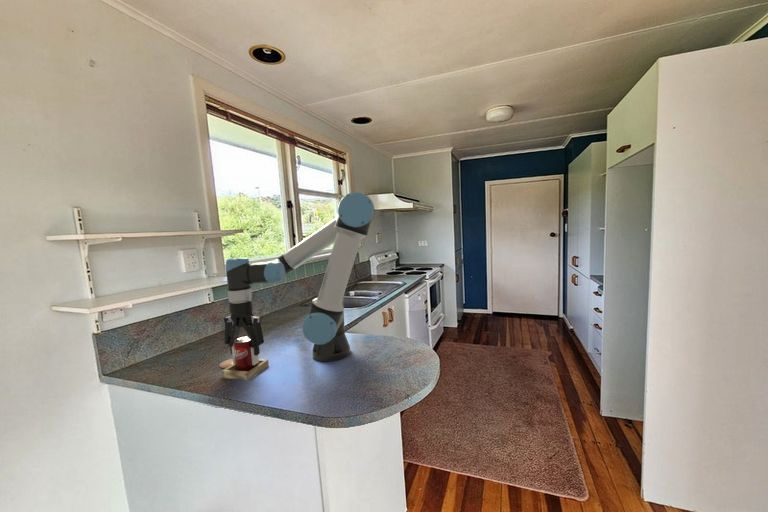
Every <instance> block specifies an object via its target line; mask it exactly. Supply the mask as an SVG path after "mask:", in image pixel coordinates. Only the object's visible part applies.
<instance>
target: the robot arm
mask: <svg viewBox="0 0 768 512" xmlns="http://www.w3.org/2000/svg"><path fill="white" fill-rule="evenodd" d="M337 207H338V208H337V213H336V215H335V218H334V219H332V220H330V221H329V222H327V223H326V224H325V225H323V226H322V227H320V228H319V229H318V230H316V231H314V232H313V233H312V234H311V235H309V236H307V237H306V238H304V239H303V240H301V241H300V242H299V243H297V244H295V245H294V246H292V247H291V248H289V250H287V251H286V252H284V253H283V254H281V255H279V256H278V257H277V258H275V259H273V260H269V261H264V262H261V261H260V262H250V259H249V258H248V257H233V258H228V259H227V260H225V274H226V283H227V296H228V297H227V298H228V302H229V303H228V305H229V309H228V310H229V313H230V314H231V315H229V316H226V317H224V318H223V322H224V344H225V345H227V346H229V348H230V355H231V356H232V359H233V364H235V361H234V349H233V342H234V340H235V339H237V338H239V334H240V331H241V328H243V330H244V331H245V332H246V334H247V336H249V339H250V341H251V343H252V347H251V357H252V365H255V364H257V363H258V362H259V358H260V357H259V355H260V346H261V345H262V344H264V343H265V341H264V335H263V334H264V333H263V330H262V325H261V321H262V319H261V316H255V315H254V314H253V310H254V307H253V300H252V298H253V295H252V285H254V284H256V285H257V284H258V285H259V284H275V283H276V284H278V283H282V282H283V281H284V279H285V277H287V276H288V275H289V274H290V273H291V272H293V271H294V270H295V269H297V268H299V267H300V266H302V265H303V264H304V263H306V262H307V261H309V260H310V259H312V258H314V257H315V256H316V255H318V254H320V253H321V252H322V251H324V250H325V249H327V248H328V247H330V246H332V244H333V246H332V249H331V252H330V256H329V260H328V262H327V265H326V269H325V273H324V275H323V279H322V282H321V287H320V288H319V292H318V296H317V297H315V298H312V301H311V303H310V307H309V310H308V312H307V316H305V318H304V319H303V322H302V325H301V326H302V328H301V330H302V333H303V335H304V338H305V339H306V340H307V341H308V342H309V343H312V344H313V345H312V346H313V347H312V351H311V352H312V353H311V354H312V358H313V359H314V360H316V361H319V362H333V361H334V362H335V361H339V360H342V359H344V358H346V357H348V356H349V355H350V354H351V345H350V344H349V340H348V338H347V335H346V329H345V312H344V309H345V307H344V305H345V304H344V296H345V292H346V289H347V286H348V283H349V280H350V276H351V274H352V273H351V272H352V269H353V267H354V264H355V260H356V257H357V255H358V254H357V253H358V251H359V247H360V244H361V240H363V239H364V238H366V237H367V236H368V233H369V231H370V227H371V223H372V222H373V220H374V218H375V215H376V210H375V206H374V201H372V199H371V198H370V196H368V195H367V194H365V193H362V192H359V191H357V192H356V191H354V192H350V193H347V194H345V195H344V196H343V197H341V199H340V201H339V203H338V206H337Z"/></svg>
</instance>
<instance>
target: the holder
mask: <svg viewBox="0 0 768 512" xmlns="http://www.w3.org/2000/svg"><path fill="white" fill-rule="evenodd" d="M269 365H270V364H269V359H262V358H261V359H259V362H258V363H257V366H256V367H254V368H253V369H251V370H250V371H235V364H233V365H231V366H229V367H228V368H223V369H222V370H221V378H222V379H229V380H231V379H232V380H244V381H251V379H253V378H254V377H256V376H257V375H259V374H260V373H261V372H263V371H264V370H266V369H267V368H268V367H269Z"/></svg>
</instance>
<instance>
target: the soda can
mask: <svg viewBox="0 0 768 512" xmlns="http://www.w3.org/2000/svg"><path fill="white" fill-rule="evenodd" d="M251 347H252V343H251V341H250V339H249V336H248V335H246V336H241V337H238V338H237V339H235V340H234V342H233V349H234V361H235V371H250V370H251V369H253V368H254V367H256V366H257V364H255V365H252V357H251Z"/></svg>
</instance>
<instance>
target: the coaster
mask: <svg viewBox="0 0 768 512" xmlns="http://www.w3.org/2000/svg"><path fill="white" fill-rule="evenodd" d="M231 365H233V358H229V359H226V360H224V361H221V362H220V364H219V368H220V369H226V368H228V367H229V366H231Z"/></svg>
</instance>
